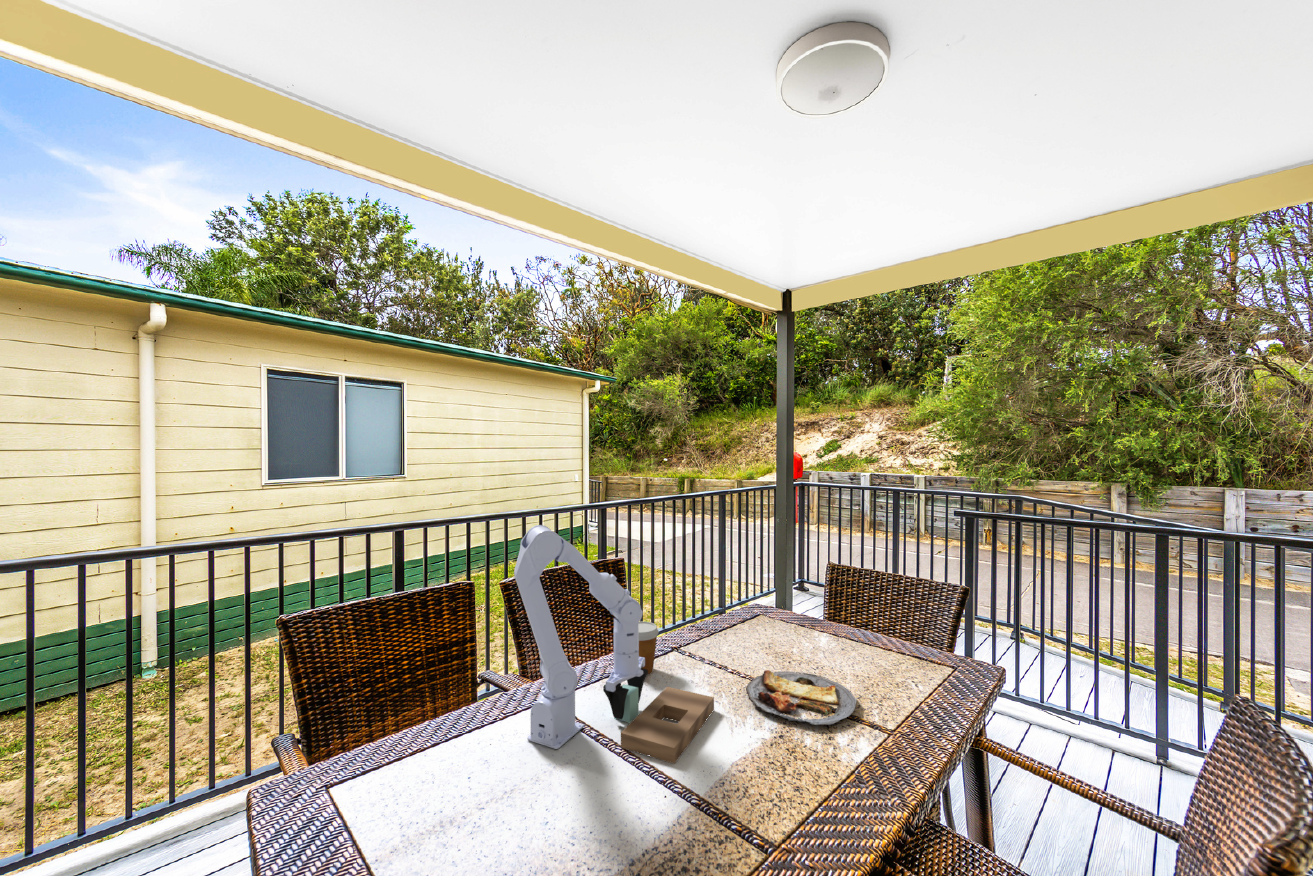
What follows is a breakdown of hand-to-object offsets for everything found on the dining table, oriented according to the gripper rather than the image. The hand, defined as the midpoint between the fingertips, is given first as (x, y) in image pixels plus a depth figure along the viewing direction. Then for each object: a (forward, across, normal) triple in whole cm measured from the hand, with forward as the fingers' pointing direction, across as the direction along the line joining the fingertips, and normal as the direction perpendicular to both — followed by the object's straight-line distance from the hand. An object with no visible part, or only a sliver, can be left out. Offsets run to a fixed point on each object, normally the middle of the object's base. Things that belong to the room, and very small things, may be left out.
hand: (626, 709), depth 114 cm
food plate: (+2, +24, -34) cm, 42 cm away
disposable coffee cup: (+2, +22, +8) cm, 23 cm away
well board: (+1, 0, -11) cm, 11 cm away
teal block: (+2, 0, 0) cm, 2 cm away
